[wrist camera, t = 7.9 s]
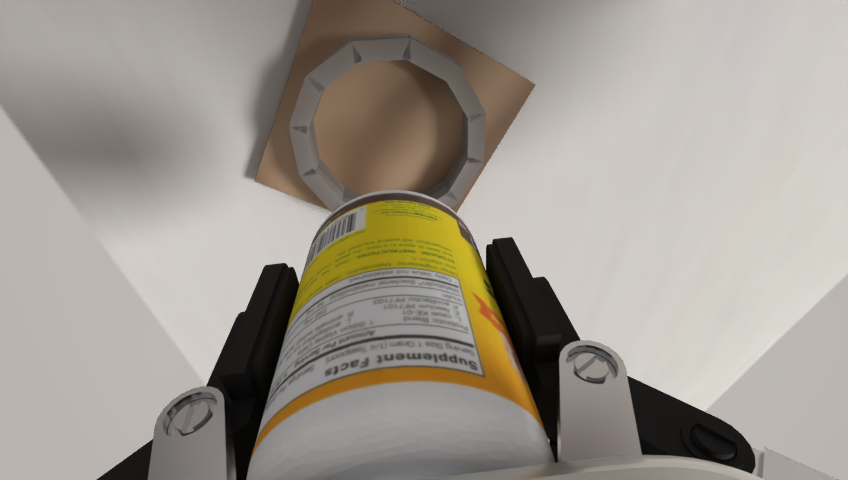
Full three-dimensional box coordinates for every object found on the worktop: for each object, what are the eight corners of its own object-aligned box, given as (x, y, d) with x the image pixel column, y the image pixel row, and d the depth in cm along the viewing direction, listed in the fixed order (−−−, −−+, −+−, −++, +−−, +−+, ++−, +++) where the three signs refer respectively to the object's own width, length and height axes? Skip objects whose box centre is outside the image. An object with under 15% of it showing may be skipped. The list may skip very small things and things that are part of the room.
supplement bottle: (458, 320, 16) (549, 728, 7) (311, 312, 15) (211, 766, 6) (491, 189, 13) (716, 614, 4) (311, 171, 12) (126, 654, 3)
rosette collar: (530, 81, 25) (546, 92, 22) (431, 243, 31) (436, 266, 28) (328, -37, 21) (320, -40, 18) (258, 174, 27) (245, 194, 24)
